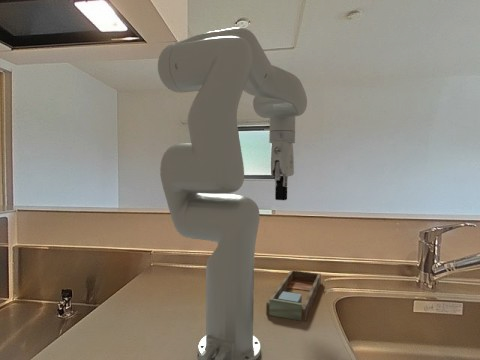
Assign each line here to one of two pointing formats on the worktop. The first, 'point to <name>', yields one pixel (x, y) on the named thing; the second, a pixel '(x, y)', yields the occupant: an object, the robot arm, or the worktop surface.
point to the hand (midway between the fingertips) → (281, 199)
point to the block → (291, 297)
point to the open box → (294, 309)
